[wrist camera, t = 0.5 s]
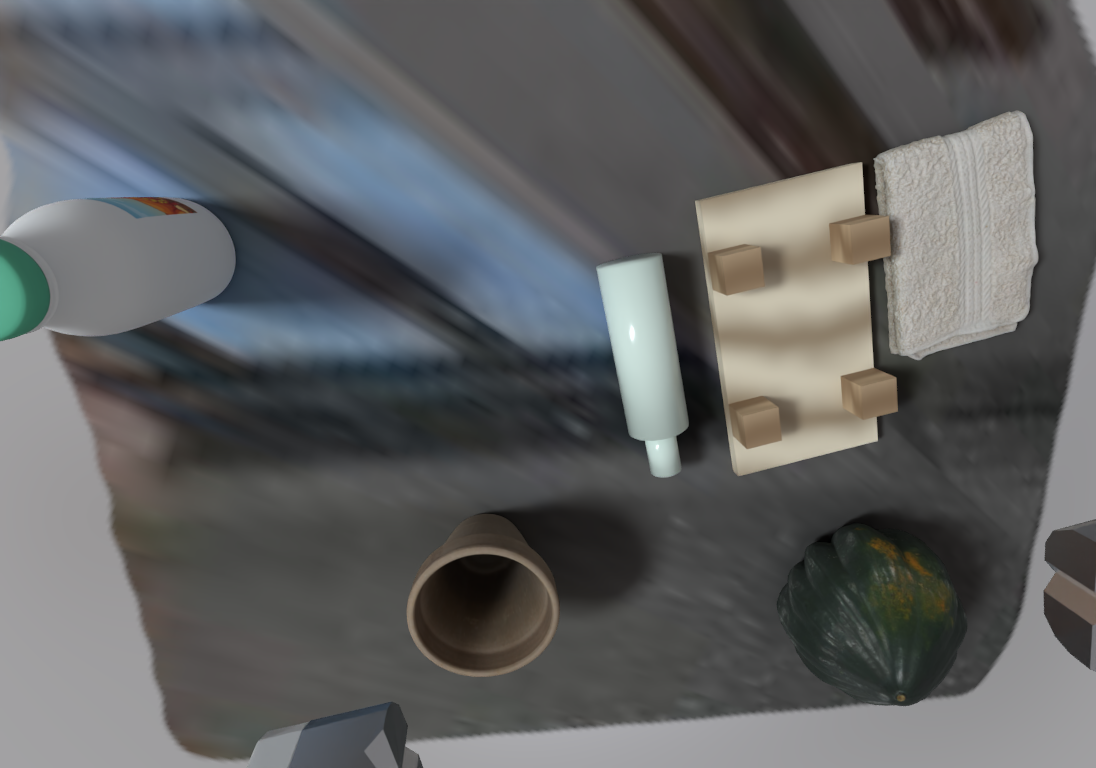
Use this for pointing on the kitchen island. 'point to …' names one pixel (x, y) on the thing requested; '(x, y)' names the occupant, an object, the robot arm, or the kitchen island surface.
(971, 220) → the washcloth
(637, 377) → the ceramic bottle
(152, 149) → the kitchen island surface
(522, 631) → the flower pot
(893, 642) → the squash
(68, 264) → the milk bottle
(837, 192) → the board
